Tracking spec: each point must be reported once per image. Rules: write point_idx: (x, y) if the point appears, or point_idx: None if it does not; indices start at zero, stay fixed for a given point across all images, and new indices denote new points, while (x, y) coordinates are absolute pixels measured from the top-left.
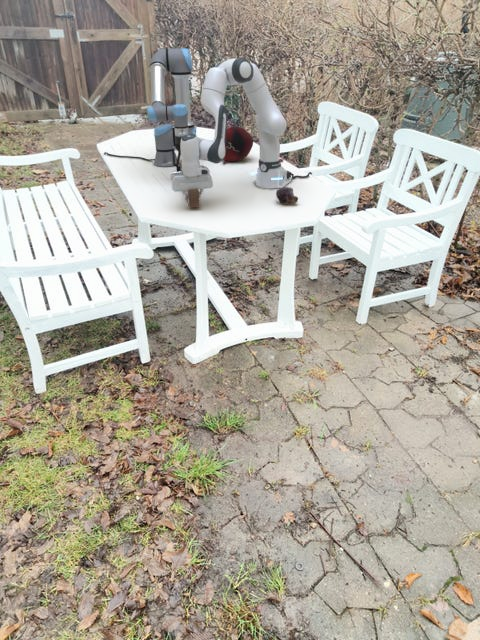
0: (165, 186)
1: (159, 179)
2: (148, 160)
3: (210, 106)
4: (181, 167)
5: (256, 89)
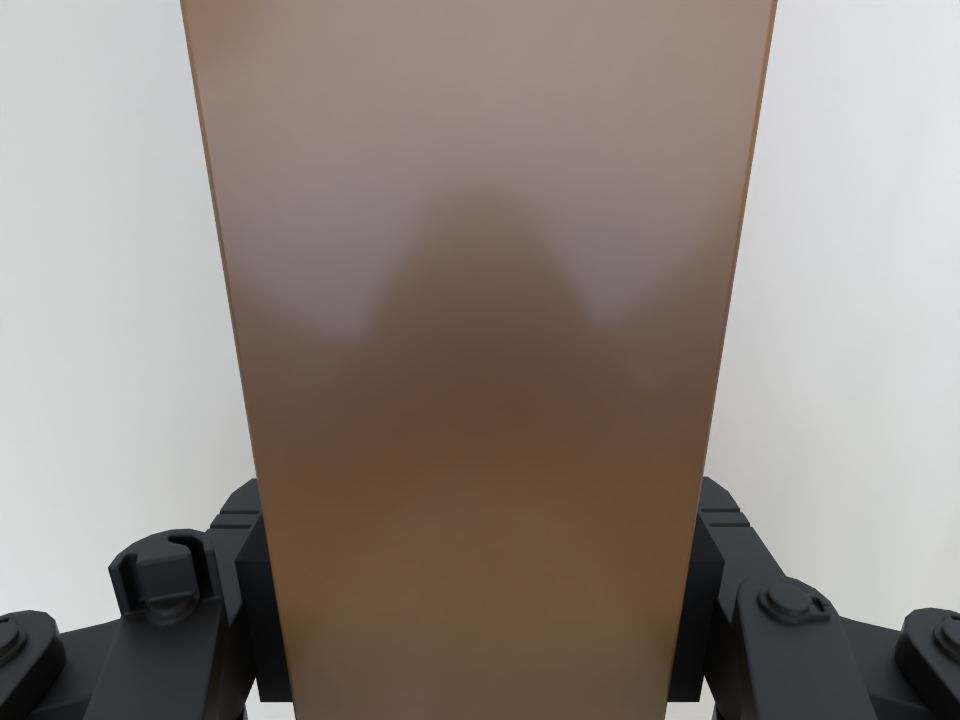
0: (948, 189)
1: (909, 611)
2: None
3: None
4: (654, 384)
5: None
